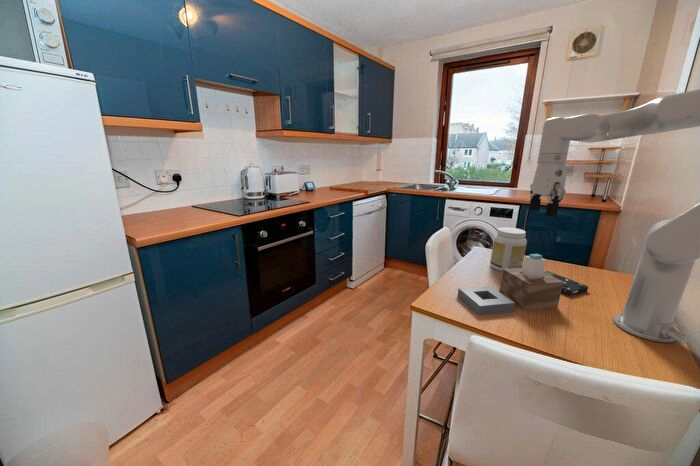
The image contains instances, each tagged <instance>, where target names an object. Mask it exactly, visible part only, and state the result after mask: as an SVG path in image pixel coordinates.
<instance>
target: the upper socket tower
mask: <svg viewBox="0 0 700 466" xmlns="http://www.w3.org/2000/svg"><path fill="white" fill-rule="evenodd" d="M522 270H523V267H522V268H511V269H503V271H502V274H501V280H500V284H499V290H498V291H499V292H500V293H502V294H503V295H504V296H506V297H507V298H509V299H510V300H512V301H513V302H515V305H517V306H518V307H519V308H521V309H522V310H524V311H533V310H535V311H536V310H544V309H554V308H558V307H559V302H560V299H561V295H562V293H561V291H562V287H563V281H561V280H559V279H557V278H555V277H553V276H551V275H549V274H547V273H545V272H546V271H543V276H542V278H539V279H530V278H528V277H526V276H525V275H523V274H522Z"/></svg>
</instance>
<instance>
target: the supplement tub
mask: <svg viewBox="0 0 700 466" xmlns="http://www.w3.org/2000/svg"><path fill="white" fill-rule="evenodd" d="M526 233H527V231H525V230H524V229H521V228H515V227H510V226H509V227H505V226H504V227H498V228H497V231H496V234H495V235H494V236H493V243H492V249H491V256H490V262H489V264H490V266H491V268H493V269H494V270H497V271H500V272H503V269H511V268H523V265H524V260H525V254H526V248H527V243H528V240H527V239H526V236H527V235H526Z"/></svg>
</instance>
